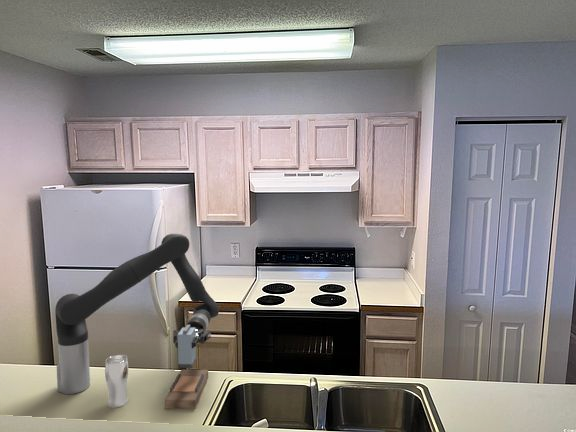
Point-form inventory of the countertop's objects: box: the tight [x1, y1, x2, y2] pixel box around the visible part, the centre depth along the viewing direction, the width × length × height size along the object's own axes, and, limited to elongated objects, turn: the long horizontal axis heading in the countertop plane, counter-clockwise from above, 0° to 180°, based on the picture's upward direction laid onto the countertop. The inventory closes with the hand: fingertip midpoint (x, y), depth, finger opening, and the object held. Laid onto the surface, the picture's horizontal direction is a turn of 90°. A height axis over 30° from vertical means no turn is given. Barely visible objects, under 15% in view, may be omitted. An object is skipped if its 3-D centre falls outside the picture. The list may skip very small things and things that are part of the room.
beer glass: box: [104, 354, 129, 409], centre depth 128 cm, size 7×7×15 cm
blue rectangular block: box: [177, 324, 197, 369], centre depth 133 cm, size 4×6×13 cm
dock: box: [164, 368, 209, 410], centre depth 135 cm, size 10×20×4 cm, turn 0°
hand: (185, 345), depth 130 cm, fingers closed on blue rectangular block, 4 cm apart
